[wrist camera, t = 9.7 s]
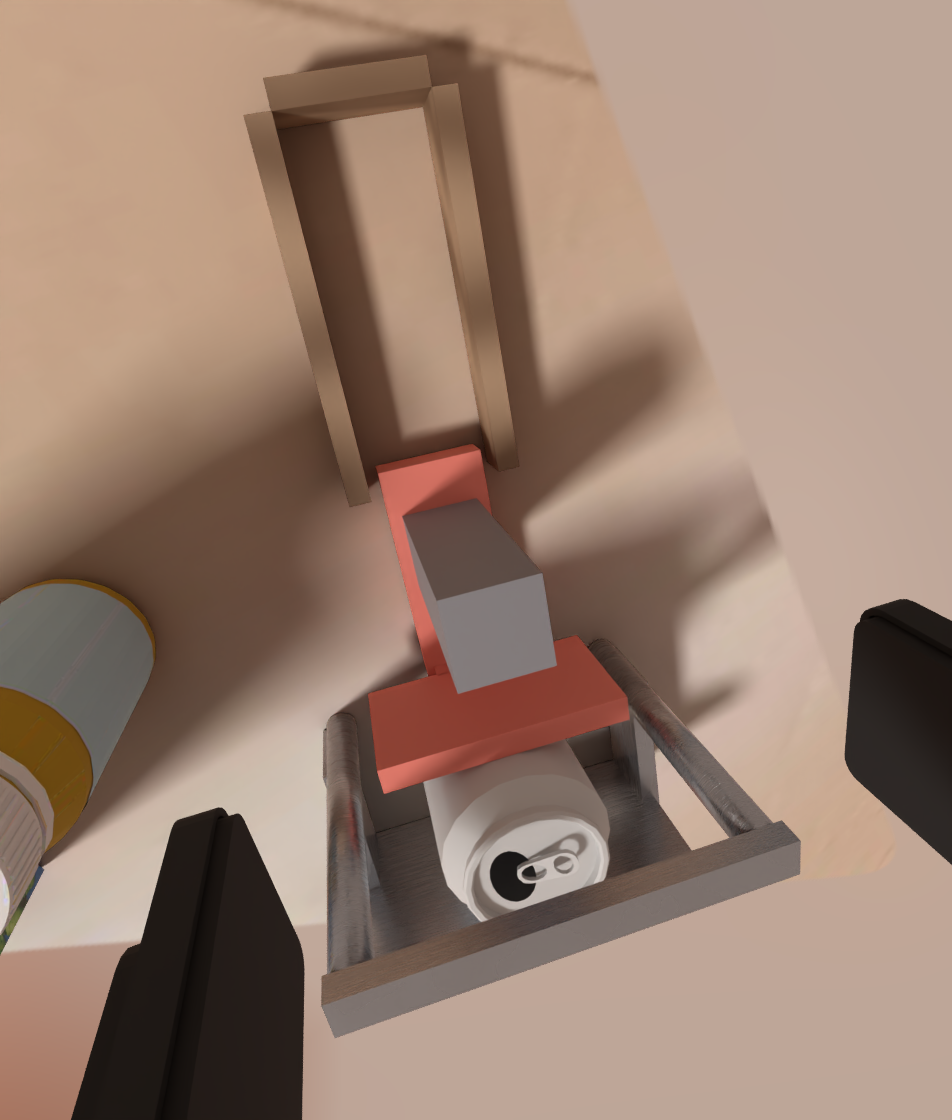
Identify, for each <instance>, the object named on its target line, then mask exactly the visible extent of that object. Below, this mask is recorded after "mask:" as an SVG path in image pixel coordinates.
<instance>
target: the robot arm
mask: <svg viewBox="0 0 952 1120" xmlns="http://www.w3.org/2000/svg"><path fill="white" fill-rule="evenodd" d="M851 665H852V666H851V679H850V691H849V704H848V717H847V730H846V743H845V761H846V764H847V766H848V769H849V771H850V772H851V773H852V775H853V776H854V777H855V778H856V779H857V781H859V782H860V783H861V784H862V785H863V786H864V787H865V788H866V789H867V790H869V791H870V792H871V793H872V794H873V795H874V796H875V797H876V798H878V799H879V800H880V801H881V802H882V803H883V804H884V805H885V806H887V807H888V808H889V809H890V810H891V811H892V812H893V813H894V814H895V815H897V816H898V817H899V818H900V819H901V820H902V821H903V822H904V823H906V824H907V825H908V826H909V827H910V828H911V829H912V830H913V831H914V832H916V833H917V834H918V835H919V836H920V837H921V838H922V839H923V840H925V841H926V842H927V843H928V844H929V845H930V846H931V847H932V848H934V849H935V850H936V851H937V852H938V853H939V854H940V855H942V857H944V858H945V859H946V860H947V861H948V862H949V863H950V864H952V621H951V620H949V619H947V618H945V617H943V616H941V615H939V614H937V613H935V612H933V611H931V610H929V609H927V608H925V607H923V606H921V605H919V604H917V603H916V602H913V601H910V600H907V599H899V600H896V601H893V602H889V603H886V604H883V605H880V606H876V607H873V608H870V609H868V610H866V611H864V613H863V614H862V615H861V618H860V622H859V623H857V625H856V626H855V630H854V639H853V651H852V664H851ZM303 1026H304V959H303V953H302V948H301V944H300V941H299V939H298V937H297V934H296V932H295V930H294V928H293V926H292V924H291V921H290V919H289V917H288V915H287V913H286V910H285V908H284V906H283V904H282V902H281V900H280V897H279V895H278V893H277V891H276V889H275V887H274V884H273V882H272V880H271V878H270V876H269V873H268V871H267V869H266V867H265V865H264V863H263V860H262V858H261V856H260V854H259V852H258V849H257V847H256V845H255V843H254V841H253V839H252V836H251V834H250V832H249V830H248V828H247V825H246V823H245V821H244V819H243V817H242V816H241V815H240V814H234V815H231V816H228V814H227V813H226V811H225V810H224V809H223V808H215V809H212V810H209V811H205V812H202V813H199V814H196V815H192V816H189V817H186V818H183V819H179V820H177V821H176V822H175V823H174V825H173V827H172V830H171V833H170V837H169V840H168V844H167V848H166V851H165V855H164V859H163V863H162V866H161V870H160V874H159V877H158V881H157V885H156V888H155V892H154V896H153V900H152V903H151V907H150V911H149V914H148V918H147V922H146V925H145V929H144V933H143V937H142V940H141V943H140V944H137V945H135V946H132V947H130V948H128V949H127V950H126V951H125V953H124V954H123V955H122V956H121V958H120V961H119V963H118V965H117V968H116V970H115V973H114V977H113V980H112V983H111V987H110V990H109V993H108V997H107V1000H106V1004H105V1007H104V1010H103V1014H102V1017H101V1020H100V1024H99V1027H98V1031H97V1034H96V1037H95V1041H94V1044H93V1048H92V1051H91V1054H90V1057H89V1061H88V1064H87V1068H86V1071H85V1074H84V1078H83V1081H82V1084H81V1088H80V1091H79V1095H78V1098H77V1101H76V1105H75V1108H74V1112H73V1115H72V1118H71V1120H302V1086H303V1085H302V1084H303Z"/></svg>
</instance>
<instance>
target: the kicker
mask: <svg viewBox="0 0 952 1120" xmlns="http://www.w3.org/2000/svg"><path fill="white" fill-rule="evenodd" d="M376 470H377V474H378V478H379V482H380V486H381V490H382V494H383V498H384V502H385V506H386V510H387V514H388V519H389V523H390V527H391V531H392V535H393V539H394V543H395V547H396V551H397V555H398V559H399V563H400V567H401V571H402V575H403V579H404V583H405V587H406V591H407V595H408V599H409V603H410V607H411V611H412V615H413V619H414V623H415V627H416V631H417V635H418V639H419V643H420V647H421V651H422V655H423V659H424V663H425V667H426V670H427V674H428V677H425V678H422V679H418V680H415V681H411V682H408V683H404V684H400V685H397V686H393V687H390V688H386V689H383V690H379V691H375V692H372V693H368V698H369V706H370V715H371V724H372V732H373V741H374V749H375V758H376V766H377V773H378V776H379V779H380V783H381V786H382V789H383V792H384V794H385V793H389V792H392V791H395V790H399V789H402V788H405V787H408V786H412V785H415V784H418V783H422V782H425V781H428V780H432V779H435V778H438V777H441V776H445V775H448V774H451V773H455V772H458V771H461V770H465V769H468V768H471V767H474V766H478V765H481V764H484V763H488V762H491V761H494V760H498V759H501V758H504V757H507V756H511V755H514V754H517V753H521V752H524V751H527V750H531V749H534V748H537V747H540V746H544V745H547V744H550V743H554V742H557V741H560V740H564V739H567V738H570V737H573V736H577V735H580V734H583V733H587V732H590V731H593V730H597V729H600V728H603V727H606V726H610V725H613V724H616V723H620V722H623V721H626V720H630V717H629V708H628V699H627V696H626V695H625V693H624V692H623V691H622V690H621V689H620V687H619V686H618V685H617V684H616V682H615V681H614V680H613V679H612V677H611V676H610V675H609V674H608V673H607V671H606V670H605V669H604V668H603V666H602V665H601V664H600V663H599V662H598V660H597V659H596V658H595V657H594V655H593V654H592V653H591V652H590V650H589V649H588V648H587V647H586V646H585V644H584V643H583V642H582V641H581V639H580V638H579V637H578V636H577V635H575V636H572V637H568V638H565V639H561V640H557V641H554V642H553V637H552V631H551V625H550V618H549V612H548V605H547V599H546V593H545V586H544V580H543V573H542V572H541V571H540V570H539V569H538V567H537V566H536V565H535V564H534V563H533V562H532V561H531V559H530V558H529V557H528V556H527V555H526V554H525V553H524V552H523V550H522V549H521V548H520V547H519V546H518V545H517V544H516V542H515V541H514V540H513V539H512V538H511V537H510V536H509V535H508V533H507V532H506V531H505V530H504V529H503V528H502V527H501V525H500V524H499V523H498V522H497V521H496V520H495V519H494V517H493V516H492V511H491V506H490V500H489V495H488V489H487V484H486V479H485V473H484V468H483V462H482V457H481V451H480V449H479V448H477V447H476V446H475V445H473V444H469V445H465V446H460V447H456V448H452V449H447V450H443V451H439V452H434V453H430V454H426V455H421V456H417V457H413V458H408V459H404V460H400V461H395V462H391V463H387V464H382V465H378V466H376Z"/></svg>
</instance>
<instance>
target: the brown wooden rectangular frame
mask: <svg viewBox="0 0 952 1120" xmlns="http://www.w3.org/2000/svg"><path fill="white" fill-rule="evenodd" d="M263 80H264V84H265V88H266V92H267V96H268V100H269V104H270V108H271V111H267V112H261V113H254V114H247V115H244V119H245V122H246V126H247V130H248V134H249V137H250V141H251V145H252V148H253V152H254V156H255V159H256V163H257V167H258V170H259V174H260V178H261V182H262V185H263V189H264V193H265V196H266V200H267V204H268V207H269V211H270V215H271V218H272V222H273V226H274V230H275V233H276V237H277V241H278V244H279V248H280V252H281V255H282V259H283V263H284V266H285V270H286V274H287V278H288V281H289V285H290V289H291V292H292V296H293V300H294V303H295V307H296V311H297V314H298V318H299V322H300V326H301V329H302V333H303V337H304V340H305V344H306V348H307V351H308V355H309V359H310V362H311V366H312V370H313V374H314V377H315V381H316V385H317V388H318V392H319V396H320V399H321V403H322V407H323V410H324V414H325V418H326V422H327V425H328V429H329V433H330V436H331V440H332V444H333V447H334V451H335V455H336V458H337V462H338V466H339V470H340V473H341V477H342V481H343V484H344V488H345V492H346V495H347V499H348V503H349V506H350V507H352V506H357V505H361V504H365V503H369V502H371V498H370V494H369V490H368V486H367V482H366V478H365V474H364V470H363V466H362V463H361V459H360V455H359V451H358V447H357V443H356V439H355V435H354V431H353V427H352V423H351V420H350V416H349V412H348V408H347V404H346V400H345V396H344V392H343V388H342V384H341V381H340V377H339V373H338V369H337V365H336V361H335V357H334V353H333V349H332V345H331V342H330V338H329V334H328V330H327V326H326V322H325V318H324V314H323V310H322V306H321V303H320V299H319V295H318V291H317V287H316V283H315V279H314V275H313V271H312V267H311V264H310V260H309V256H308V252H307V248H306V244H305V240H304V236H303V232H302V228H301V224H300V221H299V217H298V213H297V209H296V205H295V201H294V197H293V193H292V189H291V185H290V182H289V178H288V174H287V170H286V166H285V162H284V158H283V154H282V150H281V146H280V143H279V139H278V135H277V131H276V130H277V129H283V128H290V127H296V126H303V125H309V124H316V123H322V122H329V121H335V120H342V119H348V118H355V117H361V116H368V115H374V114H381V113H387V112H394V111H400V110H407V109H413V108H420V107H423V110H424V115H425V121H426V126H427V132H428V137H429V143H430V149H431V154H432V160H433V165H434V171H435V176H436V182H437V187H438V193H439V199H440V204H441V210H442V215H443V221H444V226H445V232H446V238H447V243H448V249H449V254H450V260H451V265H452V271H453V276H454V282H455V288H456V293H457V299H458V304H459V310H460V315H461V321H462V326H463V332H464V338H465V343H466V349H467V354H468V360H469V365H470V371H471V377H472V382H473V388H474V393H475V399H476V404H477V410H478V415H479V421H480V427H481V432H482V438H483V443H484V449H485V454H486V460H487V462H488V463H489V464H490V465H492V466H493V467H494V468H495V469H496V470H498V471H503V470H507V469H512V468H516V467H519V461H518V455H517V449H516V443H515V436H514V430H513V424H512V418H511V412H510V405H509V399H508V393H507V387H506V380H505V374H504V368H503V362H502V356H501V349H500V343H499V337H498V331H497V324H496V318H495V312H494V306H493V299H492V293H491V287H490V281H489V275H488V268H487V262H486V256H485V250H484V243H483V237H482V231H481V225H480V218H479V212H478V206H477V200H476V194H475V187H474V181H473V175H472V169H471V162H470V156H469V150H468V144H467V138H466V131H465V125H464V119H463V113H462V106H461V100H460V94H459V88H458V83H454V84H447V85H441V86H434V87H432V84H431V78H430V72H429V66H428V61H427V55H420V56H413V57H406V58H399V59H392V60H385V61H378V62H371V63H364V64H357V65H350V66H343V67H336V68H329V69H322V70H315V71H308V72H301V73H294V74H287V75H280V76H273V77H266V78H263Z"/></svg>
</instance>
